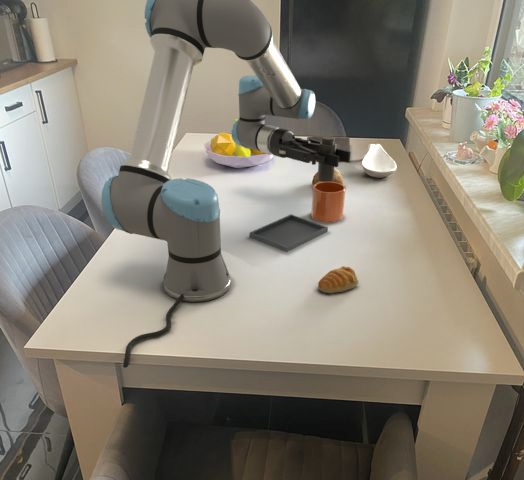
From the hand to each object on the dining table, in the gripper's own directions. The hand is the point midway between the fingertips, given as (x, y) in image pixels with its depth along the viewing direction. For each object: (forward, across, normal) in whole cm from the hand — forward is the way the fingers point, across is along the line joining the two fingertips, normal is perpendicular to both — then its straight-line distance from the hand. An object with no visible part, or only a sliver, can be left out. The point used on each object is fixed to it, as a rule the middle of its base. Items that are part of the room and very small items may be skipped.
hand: (343, 159), depth 142 cm
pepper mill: (-5, 0, -6) cm, 8 cm away
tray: (-5, +15, -18) cm, 24 cm away
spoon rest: (-18, -47, -19) cm, 54 cm away
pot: (-5, -2, -18) cm, 19 cm away
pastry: (+21, +28, -18) cm, 39 cm away
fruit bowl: (-59, -22, -19) cm, 66 cm away
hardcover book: (-43, -53, -19) cm, 71 cm away
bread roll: (-20, -22, -18) cm, 35 cm away
